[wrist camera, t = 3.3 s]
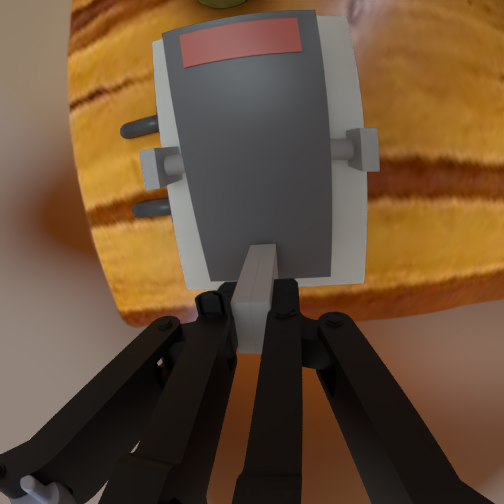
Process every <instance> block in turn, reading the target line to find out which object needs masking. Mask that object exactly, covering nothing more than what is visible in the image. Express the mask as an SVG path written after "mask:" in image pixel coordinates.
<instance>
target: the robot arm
mask: <svg viewBox="0 0 504 504" xmlns="http://www.w3.org/2000/svg"><path fill="white" fill-rule="evenodd" d="M195 302H196V307H197V311H198V317H197V320H196V321H194V322H190V323H185V324H181V323H180V320H179V319H178V318H177V317H174V316H163V317H161V318H158V319H156V320H155V321H153V322H152V323H151V324H150V325H149V326H148V327H147V328H146V329H145V330H144V331H143V332H142V333H140V334H139V335H138V336H137V337H136V338H135V339H134V340H133V341H132V342H131V343H130V344H129V345H128V346H127V347H125V349H123V350H122V351H121V352H120V353H119V354H118V355H117V356H116V357H115V358H114V359H113V360H112V361H111V362H110V363H109V364H107V365H106V366H105V367H104V368H103V369H102V370H101V371H100V372H99V373H98V374H97V375H96V376H95V377H94V378H93V379H92V380H91V381H90V382H89V383H88V384H86V385H85V386H84V387H83V388H82V389H81V390H80V391H79V392H78V393H77V394H76V395H75V396H74V397H73V398H72V399H71V400H70V401H69V402H68V403H67V404H66V405H65V406H64V407H63V408H62V409H61V410H60V411H59V412H58V413H57V414H55V415H54V416H53V417H52V418H51V419H50V420H49V421H48V422H47V423H46V424H45V425H44V426H43V427H42V428H41V429H40V430H39V431H38V432H37V433H36V434H35V435H34V436H33V437H32V438H31V439H30V440H29V441H27V442H25V443H23V444H21V445H19V446H17V447H15V448H13V449H11V450H9V451H7V452H5V453H3V454H0V492H2V493H3V494H5V495H6V496H7V497H9V499H10V502H11V504H84V503H86V502H87V501H89V500H90V499H91V498H92V497H93V496H95V495H96V493H97V492H98V491H99V490H100V489H101V488H102V487H103V486H104V484H105V483H106V482H107V481H108V483H107V485H106V487H105V489H104V491H103V494H102V496H101V498H100V500H99V503H98V504H207V499H206V494H207V489H208V484H209V481H210V476H211V472H212V468H213V464H214V460H215V456H216V451H217V447H218V443H219V439H220V435H221V430H222V425H223V421H224V417H225V413H226V409H227V405H228V400H229V396H230V392H231V387H232V383H233V378H234V374H235V370H236V365H237V354H236V350H237V347H238V349H239V353H240V354H262V355H261V362H260V369H259V375H258V382H257V389H256V395H255V402H254V408H253V415H252V421H251V427H250V433H249V440H248V445H247V451H246V457H245V463H244V468H243V471H242V473H241V474H240V475H239V476H238V479H237V482H236V486H235V491H234V495H233V500H232V504H301V488H302V420H303V418H302V417H303V411H302V408H303V407H302V367H307V368H313V369H316V373H317V375H318V378H319V380H320V382H321V385H322V387H323V389H324V391H325V394H326V396H327V399H328V401H329V403H330V406H331V408H332V410H333V413H334V415H335V417H336V419H337V422H338V424H339V427H340V429H341V432H342V434H343V436H344V438H345V441H346V443H347V446H348V448H349V450H350V453H351V455H352V458H353V460H354V462H355V465H356V467H357V470H358V472H359V474H360V477H361V479H362V481H363V484H364V486H365V489H366V491H367V494H368V496H369V498H370V501H371V503H372V504H494V503H493V502H491V501H490V500H488V499H487V498H485V497H484V496H483V495H481V494H480V493H478V492H477V491H475V490H474V489H472V488H471V487H469V486H468V485H467V484H465V483H464V482H462V481H461V480H460V479H459V477H458V475H457V474H456V472H455V470H454V469H453V467H452V466H451V464H450V462H449V461H448V459H447V457H446V456H445V454H444V452H443V451H442V449H441V448H440V446H439V445H438V443H437V441H436V440H435V438H434V437H433V435H432V434H431V432H430V431H429V429H428V428H427V426H426V424H425V423H424V421H423V420H422V418H421V417H420V415H419V414H418V412H417V411H416V409H415V408H414V406H413V405H412V403H411V402H410V400H409V399H408V397H407V396H406V395H405V393H404V392H403V390H402V389H401V387H400V386H399V385H398V383H397V382H396V380H395V379H394V377H393V376H392V375H391V373H390V372H389V370H388V369H387V367H386V366H385V364H384V363H383V362H382V360H381V359H380V357H379V356H378V354H377V353H376V352H375V350H374V349H373V347H372V346H371V345H370V344H369V342H368V341H367V339H366V338H365V336H364V335H363V334H362V332H361V331H360V330H359V328H358V327H357V326H356V324H355V323H354V322H353V320H352V319H351V318H350V317H349V316H348V315H347V314H344V313H342V312H328V313H325V314H323V315H322V316H320V317H319V319H318V320H313V319H309V318H307V317H305V316H303V315H302V314H301V312H300V307H299V290H298V282H297V281H296V280H295V279H294V278H287V279H278V266H277V252H276V244H260V245H250V248H249V251H248V254H247V257H246V260H245V262H244V265H243V268H242V271H241V274H240V277H239V280H238V281H231V282H224V283H223V284H222V285H220V286H219V288H218V290H217V291H207V292H204V293H201V294H199V295H198V296H197V297H196V298H195ZM160 359H162V362H163V363H162V364H161V365H159V366H158V364H157V362H158V361H159V360H160ZM139 441H140V442H139ZM138 442H139V444H138V447H137V449H136V450H135V451H134V452H133V453H130V452H131V451H132V450H133V449H134V447H135V446H136V445H137V443H138Z"/></svg>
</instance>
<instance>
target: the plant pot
mask: <svg viewBox="0 0 504 504" xmlns="http://www.w3.org/2000/svg"><path fill="white" fill-rule="evenodd" d="M198 1H199V2H200V3H202V4H204V5H206V6H209V7H212V8H229V7H233V6H237V5H239V4H241V3H243V2H245V1H246V0H198Z"/></svg>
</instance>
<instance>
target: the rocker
mask: <svg viewBox="0 0 504 504" xmlns="http://www.w3.org/2000/svg"><path fill="white" fill-rule="evenodd" d="M162 37H163V45H164V52H165V60H166V66H167V73H168V80H169V86H170V92H171V98H172V104H173V110H174V116H175V122H176V127H177V133H178V138H179V143H180V148H181V154H176V155H170V156H166V157H165V160H164V168H165V171H166V173H167V175H169V176H170V175H176V174H182V173H186V178H187V183H188V188H189V192H190V197H191V202H192V206H193V211H194V215H195V219H196V224H197V228H198V232H199V237H200V241H201V245H202V249H203V253H204V257H205V261H206V265H207V269H208V273H209V277H210V281H211V282H215V281H238V280H239V277H240V274H241V271H242V268H243V265H244V262H245V260H246V257H247V254H248V251H249V248H250V245H260V244H276V252H277V266H278V279H287V278H294V279H297V278H317V277H331V257H332V169H331V160H352V159H353V156H354V148H353V142H352V140H351V139H330V128H329V114H328V102H327V91H326V82H325V73H324V64H323V57H322V49H321V42H320V35H319V29H318V23H317V17H316V12H315V10H290V11H274V12H263V13H254V14H246V15H239V16H233V17H227V18H222V19H216V20H211V21H207V22H202V23H198V24H194V25H190V26H186V27H182V28H178V29H175V30H171V31H168V32H165V33H162Z"/></svg>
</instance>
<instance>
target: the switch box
mask: <svg viewBox="0 0 504 504" xmlns="http://www.w3.org/2000/svg"><path fill="white" fill-rule="evenodd" d="M316 17H317V23H318V29H319V35H320V42H321V49H322V57H323V64H324V73H325V82H326V91H327V102H328V114H329V128H330V139H351V140H352V142H353V148H354V156H353V159H352V160H331V169H332V257H331V277H317V278H297V279H295V280H296V281H297V282H298V287H310V286H329V285H345V284H361V283H364V278H365V263H366V244H367V172H380V165H379V145H378V130H377V128H364V121H363V111H362V102H361V94H360V86H359V79H358V72H357V66H356V60H355V54H354V49H353V44H352V39H351V34H350V29H349V25H348V20H347V17H343V16H316ZM152 44H153V64H154V79H155V92H156V103H157V107H156V109H157V115H154V116H150V117H146V118H143V119H139V120H136V121H132V122H129V123H126V124H124V125H123V126H122V127H121V129H120V134H121V136H122V137H123V138H125V139H130V138H134V137H137V136H141V135H145V134H149V133H153V132H158V131H159V133H160V140H161V148H153V149H149V150H144V151H140V158H141V165H142V172H143V178H144V185H145V190H152V189H158V188H162V187H164V186H167V189H168V195H169V197H168V198H164V199H157V200H150V201H143V202H138V203H136V204H135V205H134V206H133V209H132V211H133V214H134V216H135V217H137V218H146V217H155V216H163V215H171V216H172V222H173V224H174V230H175V235H176V240H177V245H178V250H179V255H180V260H181V264H182V269H183V274H184V278H185V283H186V287H187V290H218V288H219V286H220V285H222V284H223V283H224V282H231V281H215V282H211V281H210V277H209V273H208V269H207V265H206V261H205V257H204V253H203V249H202V245H201V241H200V237H199V232H198V228H197V224H196V219H195V215H194V211H193V206H192V202H191V197H190V192H189V188H188V183H187V178H186V173H182V174H176V175H170V176H169V175H167V173H166V171H165V168H164V160H165V157H166V156H170V155H176V154H181V148H180V143H179V138H178V133H177V127H176V122H175V116H174V110H173V104H172V98H171V92H170V86H169V80H168V73H167V66H166V60H165V52H164V45H163V39H161V40H157V41H154V42H152Z"/></svg>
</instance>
